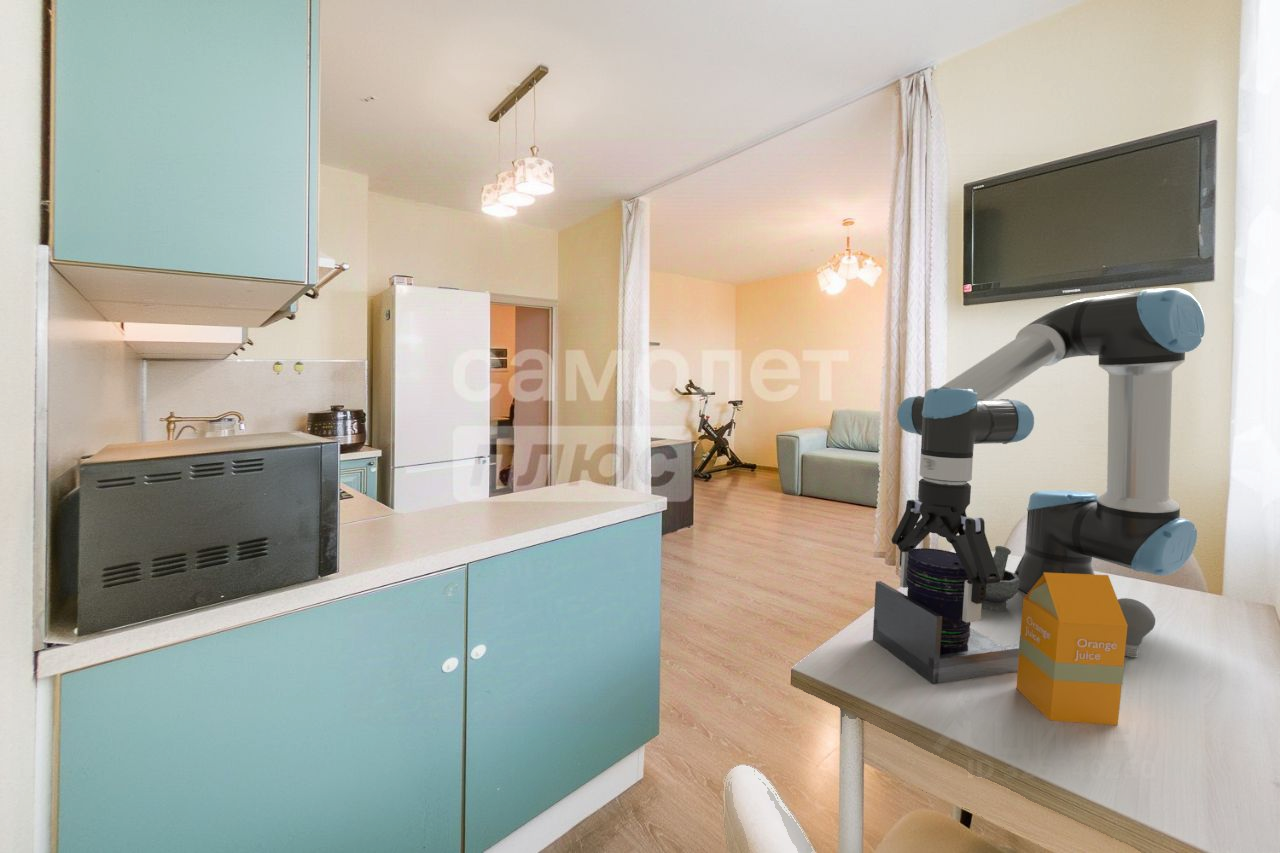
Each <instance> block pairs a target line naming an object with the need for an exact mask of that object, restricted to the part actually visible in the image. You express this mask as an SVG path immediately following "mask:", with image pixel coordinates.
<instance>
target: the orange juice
mask: <svg viewBox="0 0 1280 853" xmlns="http://www.w3.org/2000/svg"><path fill="white" fill-rule="evenodd" d="M1043 573H1044V574H1043V575H1042V576H1041V578H1040V579H1039V580H1038V582H1037V583H1036V584H1035V585H1034V587H1033V588H1032V589H1031V590H1030V592H1029V593H1026V595H1025V596H1024V597H1023V598H1022V599H1023V600H1022V611H1021V612H1022V613H1021V624H1020V635H1019V642H1018V646H1019V660H1018V671H1017V673H1016V674H1017V676H1016V677H1017V678H1016V687H1015V688H1016V690H1017V691H1019V692H1020V693H1021V694H1022V696H1024V697H1025V698H1026V699H1027V701H1029V702H1030V703H1031V704H1032V705H1033V706H1034V707H1036V709H1037V710H1039V711H1040V712H1041V713H1042V714H1043V715H1044V716H1045V717H1046V718H1047V719H1048V720H1049V721H1051V722H1052V721H1053V722H1067V723H1069V722H1070V723H1079V724H1081V723H1082V724H1083V723H1084V724H1094V725H1095V724H1097V725H1107V726H1108V725H1111V726H1118V725H1119V715H1120V706H1121V694H1122V685H1123V682H1124V671H1125V657H1126V656H1125V647H1126V637H1127V626H1128V625H1127V623H1126V620H1125V617H1124V615H1123V612H1122V610H1121V607H1120V604H1119V602H1118V599H1119V598H1118V597H1117V594H1116V592H1115V589H1114V587H1113V583H1112V582H1111V579H1110V575H1109V574H1095V575H1093V574H1070V573H1046V572H1043Z"/></svg>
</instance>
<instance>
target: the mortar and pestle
mask: <svg viewBox="0 0 1280 853" xmlns="http://www.w3.org/2000/svg"><path fill="white" fill-rule="evenodd" d="M994 550H995V552H994V554H993V559H994V562H995V565H996V568H997V571H998V574H999V577H1000V582H999V583H991V584H987V585H986V594H985V595H986V598H985V602H984V603H982V605H981V609H985V610H989V611H1001V612H1002V611H1005V610H1006V609H1007V601H1008V600H1010V599H1012V598H1014V596H1016V594H1017V593H1018V592H1019V589H1018V588H1019V581H1020V579H1019V578H1018V577H1017V576H1016V574H1014V572H1012V571H1009V570H1006V567H1007V562H1008V558H1009V555H1010V554H1011V553H1012V550H1011V549H1009V548H1007V547H1006V546H1003V545H996V546H995V547H994ZM976 575H978V574H977V573H976Z"/></svg>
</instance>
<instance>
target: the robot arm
mask: <svg viewBox="0 0 1280 853" xmlns="http://www.w3.org/2000/svg"><path fill="white" fill-rule="evenodd" d="M1205 325H1206V320H1205V315H1204V312H1203V309H1202V307H1201V304H1200V303H1199V301H1198V300H1197V299H1196V298H1195V297H1194V296H1193V294H1191V293H1190V292H1189V291H1187V290H1185V289H1182V288H1177V287H1168V288H1166V287H1165V288H1155V289H1154V288H1149V289H1144V290H1140V291H1139V290H1138V291H1133V292H1132V291H1131V292H1126V293H1125V292H1124V293H1117V294H1110V295H1105V296H1104V295H1103V296H1097V297H1087V298H1082V299H1080V300H1075V301H1073V302H1070V303H1066V304H1064V305H1063V306H1060V307H1058V308H1056V309H1054V310H1051V311H1050V312H1048V313H1046V314H1044V315H1042V316H1041V317H1038V318H1037V319H1035V320H1033V321H1032V322H1030V323H1029V324H1027V325H1025V326H1024V327H1023V328H1021V329H1019V331H1018V332H1017V334H1016V335H1015V339H1014V340H1012V341H1010V342H1008V343H1007V344H1006V345H1004V346H1002V347H1000V348H999V349H998V350H996V351H995V352H992V353H991V354H990V355H988V356H986V357H985V358H984V359H982V360H981V361H979V362H978V363H976V364H974V365H973V366H971V367H969V368H968V369H966V370H965V371H964V372H962V373H961V374H958V375H957V376H955V377H954V378H952V379H951V380H950V381H948V382H946V383H945V384H943V385H941V386H940V387H939V388H930V389H927V390H926V392H925V393H924V396H922V395H917V396H910V397H907V398H905V399H904V400H902V402H900V404H899V406H898V409H897V412H896V420H897V423H898V424H899V426H900V429H902V430H903V431H905V432H906V433H910V434H915V435H918V436H921V442H920V444H921V445H920V459H919V460H920V461H919V476H920V477H921V479H920V480H918V489H917V492H918V493H917V499H908V500H906V505H905V511H904V513H903V515H902V517H901V519H900V522H899V523H898V526H897V527H896V530H895V531H894V534H893V536H892V538H891V543H892V544H893V545H896V546H898V547H897V548H898V550H899V551H900V552H899V566H900V583H899V586H900V588H908V586H907V583H906V577H907V573H906V572H907V566H908V560H909V559H908V552H909V551H910V550H913V549H918V548H917V547H918V545H919V544H921V542H923V540H924V539H925V538H927V536H928V535H930V534H936V535H938V536H940V537H941V538H942V537H943V538H945V539H946V541H947V543H949V544H951V546H952V547H953V550H954V553H956V554H957V556H958V558H959V560H960V562H961V564H962V565H963V567H964V569H965V571H966V573H967V575H968V577H969V579H970V580H966V581H965V586H964V601H963V616H962V620H963V621H964V622H970V623H974V622H980V621H982V620H981V619H982V618H981V617H982V616H981V615H982V608H981V605H982V603H984V602H985V598H986V595H985V594H986V585H987V584H991V583H999V582H1000V577H999V574H998V571H997V568H996V565H995V562H994V559H993V557H994V555H993V554H992V550H991V548H990V544H989V541H988V538H987V535H986V530H985V529H986V527H985V520H984V518H983V517H970V516H967V512H966V510H967V508H968V507H969V506H970V504H971V492H972V486H971V484H970V483H969V482H970V481H972V479H973V460H974V447H975V446H974V445H978V444H1003V445H1007V444H1010V443H1017V442H1020V441H1023V440H1024V439H1027V437H1029V435H1031V433H1032V431H1033V430H1034V426H1035V416H1034V413H1033V411H1032V409H1031V408H1030V407H1029V406H1028V405H1027V404H1026V403H1024V402H1022V401H1020V400H1016V399H1008V398H1007V399H1004V398H1000V399H995V398H997V397H999V396H1000V395H1002V394H1003V393H1005V392H1006V391H1008V390H1009V389H1011V387H1014V386H1015V385H1017V384H1018V383H1019V382H1021V381H1023V380H1024V379H1025V378H1027V377H1028V376H1029V377H1030V376H1031V375H1032V374H1033V373H1035V372H1036V371H1037V370H1039V369H1040V368H1042V367H1049V366H1050V367H1051V366H1053V365H1056V364H1058V363H1059V362H1061V361H1062V360H1064V359H1069V358H1075V357H1086V356H1091V357H1093V356H1098V367H1100V368H1101V369H1103V370H1104V371H1105V372H1106V373H1107V374H1108V399H1107V400H1108V402H1107V403H1108V405H1107V407H1108V408H1107V409H1108V410H1107V412H1108V414H1107V416H1108V417H1107V465H1106V466H1107V467H1106V468H1107V473H1106V474H1107V475H1106V477H1107V479H1106V482H1107V484H1106V492H1104V493H1103V494H1101V495H1099V496H1098V495H1097V494H1096V493H1093V492H1089V491H1088V492H1087V491H1077V490H1039V491H1036V492H1035V491H1034V492H1033V493H1031V495H1030V496H1029V501H1028V507H1027V508H1026V511H1027V514H1026V515H1027V517H1026V519H1027V520H1026V530H1025V531H1026V532H1025V548H1024V553H1023V555H1022V557H1021V559H1020V561H1019V563H1018V565H1017V567H1016V569H1015V570H1014V572H1013V573H1014V574H1016V576H1017V577H1018V578H1019V579H1020V581H1019V588H1018V590H1019V591H1022V592H1023V593H1025V594H1028V593H1029V592H1030V590H1031V589H1032V588H1033V587H1034V585H1035V584H1036V583H1037V582H1038V580H1039V579H1040V578H1041V576H1042V575H1043V574H1044V573H1043V572H1046V573H1070V574H1093V575H1096V574H1095V573H1094V572H1095V571H1094V569H1093V565H1092V564H1093V558H1094V559H1098V560H1101V561H1104V562H1107V563H1110V564H1114V565H1118V566H1120V567H1124V568H1127V569H1131V570H1133V571H1135V572H1142V573H1147V574H1151V575H1154V576H1160V577H1162V576H1163V577H1164V576H1168V575H1172V574H1174V573H1176V572H1177V571H1179V570H1180V569H1181V568H1182V567H1183V566H1184V565H1185V564H1186V563H1187V562H1188V560H1189V559H1190V558H1191V556H1192V554H1193V552H1194V549H1195V547H1196V543H1197V538H1198V531H1197V528H1196V525H1195V524H1194V523H1193V522H1192V521H1191V520H1188V519H1187V518H1184V517H1180V516H1181V514H1180V513H1181V506H1180V504H1179V503H1178V502H1177V501H1175V500H1174V499H1172V498H1171V497H1170V494H1169V492H1170V490H1169V488H1170V465H1171V464H1170V463H1171V460H1170V458H1171V457H1170V456H1171V432H1172V431H1171V427H1172V425H1171V424H1172V398H1173V395H1172V391H1173V390H1172V388H1173V371H1174V370H1175V369H1176V368H1177V367H1179V366H1181V365H1182V364H1183V363H1184V362H1186V361H1185V360H1186V358H1185V357H1186V353H1189V352H1192V351H1194V350H1195V349H1197V348H1198V347H1199V346H1200V344H1201V343H1202V341H1203V340H1202V338H1203V337H1204V336H1205V327H1206V326H1205ZM976 573H977V574H978V575H976Z"/></svg>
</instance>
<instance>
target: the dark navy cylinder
mask: <svg viewBox="0 0 1280 853" xmlns="http://www.w3.org/2000/svg"><path fill="white" fill-rule="evenodd" d="M908 559H909V560H908V566H907V572H906V573H907V577H906V583H907V586H908V587H907V595H906V596H908V597H910V598H911V599H913V600H915V601H917V602H918V603H920V604H922V605H924V606H925V607H927V608H929V609H931V610H933V611H934V612H936V613H938V614H940V615H941V616H942V630H941V646H940V655H943V654H951V653H958V652H965V651H968V644H967V643H968V641H969V637H970V628H971V625H972V624H971V623H972V622H964V621H963V620H962V616H963V601H964V586H965V581H966V580H970V579H969V577H968V575H967V573H966V571H965V569H964V567H963V565H962V564H961V562H960V560H959V558H958V556H957V554H956V552H955V551H954V552H953V551H950V550H944V549H940V548H939V549H938V548H927V547H926V548H925V547H922V548H921V547H920V548H917V549H916V548H915V549H913V550H910V551H909V552H908Z"/></svg>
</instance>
